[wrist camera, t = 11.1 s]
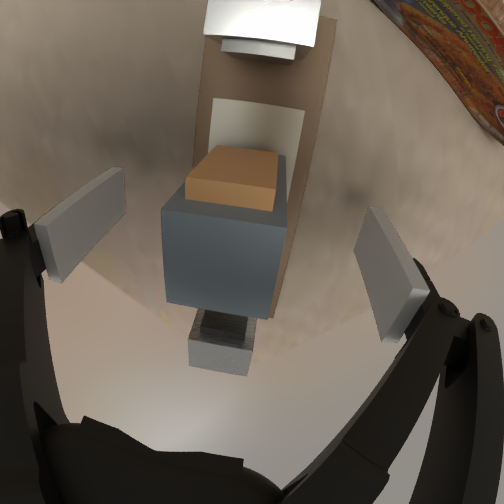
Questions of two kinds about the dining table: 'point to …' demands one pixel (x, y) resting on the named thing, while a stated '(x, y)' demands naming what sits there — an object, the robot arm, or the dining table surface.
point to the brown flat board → (266, 114)
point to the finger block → (226, 232)
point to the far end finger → (221, 342)
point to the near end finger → (263, 28)
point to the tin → (461, 49)
